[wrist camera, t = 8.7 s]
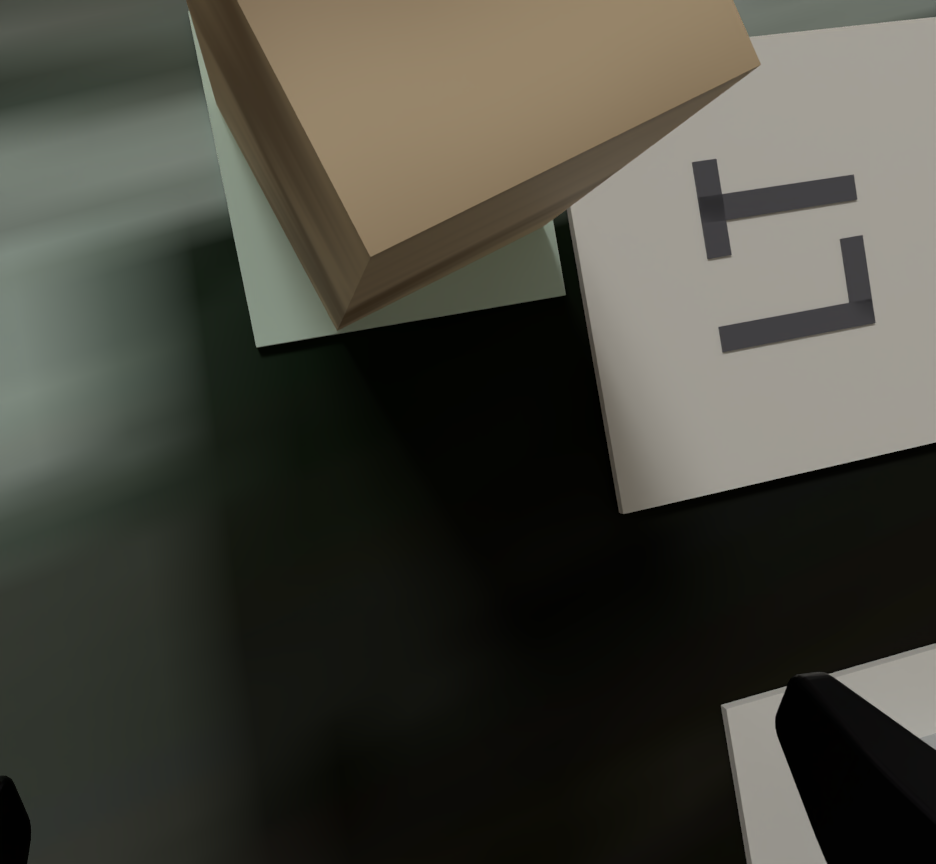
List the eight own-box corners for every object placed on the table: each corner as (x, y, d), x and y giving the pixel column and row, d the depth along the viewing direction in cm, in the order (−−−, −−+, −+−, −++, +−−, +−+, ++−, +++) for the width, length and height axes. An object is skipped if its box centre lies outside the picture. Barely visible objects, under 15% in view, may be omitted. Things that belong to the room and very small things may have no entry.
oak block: (543, 226, 21) (761, 64, 11) (337, 331, 20) (370, 256, 10) (436, 7, 20) (566, -380, 10) (216, 104, 19) (122, -221, 9)
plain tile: (1057, 926, 25) (1065, 932, 25) (775, 1034, 23) (781, 1042, 23) (1015, 620, 24) (1023, 623, 24) (720, 705, 22) (726, 709, 22)
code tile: (988, 428, 24) (998, 428, 23) (618, 512, 21) (624, 514, 21) (932, 21, 23) (942, 15, 23) (541, 64, 21) (545, 58, 20)
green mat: (563, 295, 21) (566, 294, 21) (256, 347, 19) (256, 347, 19) (509, -13, 20) (511, -18, 20) (189, 15, 19) (187, 11, 19)
